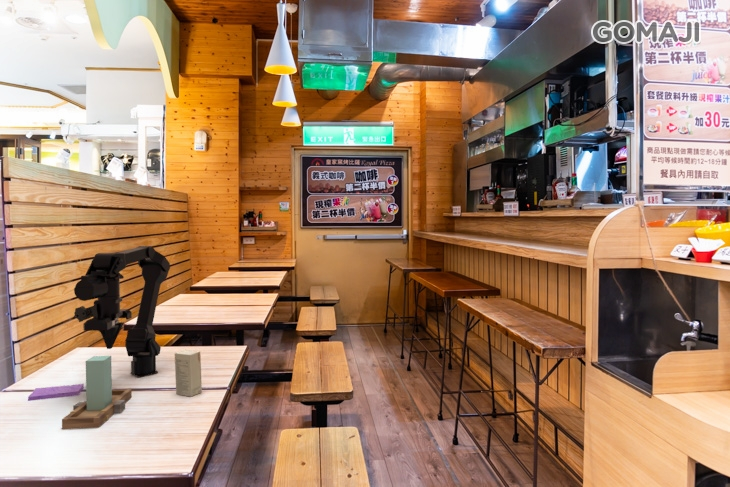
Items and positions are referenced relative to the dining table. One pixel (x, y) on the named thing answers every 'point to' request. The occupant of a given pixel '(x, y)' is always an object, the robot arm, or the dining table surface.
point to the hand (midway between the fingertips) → (109, 348)
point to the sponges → (56, 392)
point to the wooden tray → (96, 412)
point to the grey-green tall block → (98, 382)
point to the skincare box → (188, 372)
